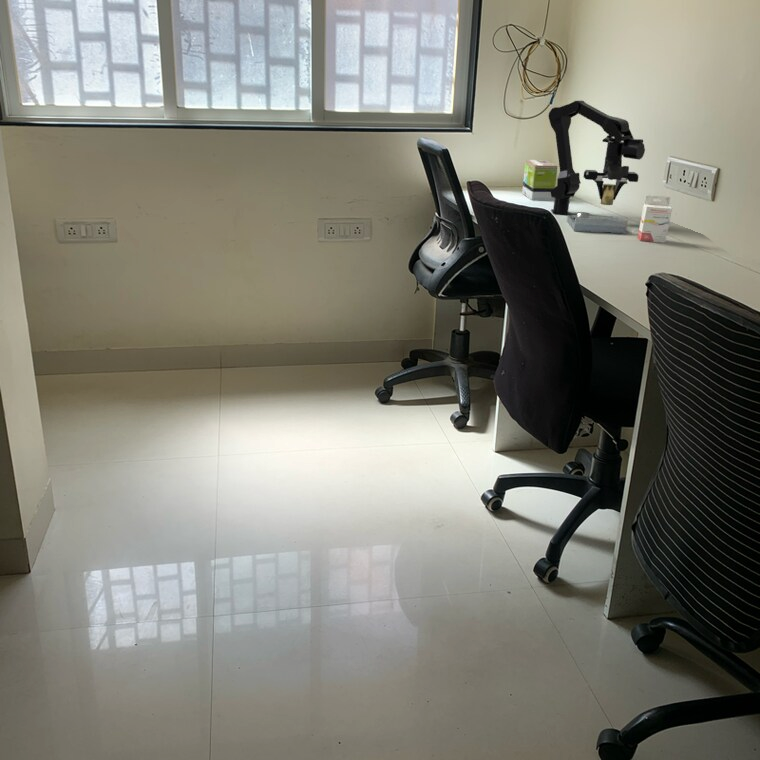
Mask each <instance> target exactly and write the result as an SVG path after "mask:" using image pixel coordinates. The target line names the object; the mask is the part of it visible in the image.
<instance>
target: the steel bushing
mask: <svg viewBox="0 0 760 760" xmlns="http://www.w3.org/2000/svg"><path fill="white" fill-rule="evenodd" d="M590 214H591V213H590V212H586V211H577V212H576V215H577V217H576V218H589V216H591V215H590Z"/></svg>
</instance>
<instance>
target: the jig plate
mask: <svg viewBox="0 0 760 760" xmlns="http://www.w3.org/2000/svg"><path fill="white" fill-rule="evenodd" d="M566 217H567V218H566V223H567V224H568V225H569V226H570V228H571V229H572V230H573V232H581V231H582V232H585V233H600V232H611V233H610V234H619V233H627V228H628V220H626V219H625V220H624V219H623V220H622V219H620V218H618V217H617V216H615V217H613V216H597V215H595V216H594V215H589V218H576V217H577V214H567V216H566ZM589 231H590V232H589Z"/></svg>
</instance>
